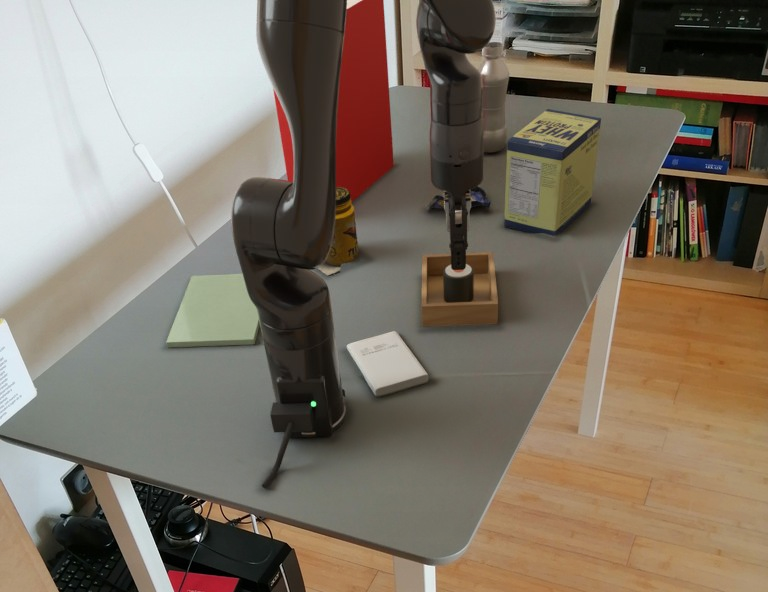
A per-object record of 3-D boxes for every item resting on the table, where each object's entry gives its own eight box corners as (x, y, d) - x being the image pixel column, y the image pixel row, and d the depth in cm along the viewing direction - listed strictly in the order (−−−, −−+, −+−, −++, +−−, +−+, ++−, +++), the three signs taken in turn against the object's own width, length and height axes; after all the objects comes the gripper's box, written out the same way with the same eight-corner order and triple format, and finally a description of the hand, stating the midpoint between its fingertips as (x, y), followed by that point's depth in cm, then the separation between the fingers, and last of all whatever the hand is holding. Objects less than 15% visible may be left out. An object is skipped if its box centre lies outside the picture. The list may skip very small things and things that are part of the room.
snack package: (436, 191, 160) (419, 217, 152) (441, 158, 155) (423, 184, 148) (495, 206, 158) (480, 233, 151) (502, 174, 154) (487, 200, 146)
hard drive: (375, 398, 116) (347, 352, 124) (428, 382, 118) (397, 338, 126) (374, 389, 115) (346, 343, 123) (428, 373, 117) (396, 329, 125)
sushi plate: (254, 344, 128) (253, 339, 127) (167, 347, 129) (165, 342, 128) (272, 277, 141) (271, 272, 141) (193, 280, 142) (191, 275, 142)
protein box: (592, 203, 152) (602, 116, 141) (555, 240, 143) (563, 151, 132) (541, 192, 156) (547, 107, 145) (502, 227, 148) (505, 140, 137)
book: (360, 160, 172) (344, -15, 149) (393, 166, 169) (382, -12, 146) (289, 218, 156) (258, 32, 133) (324, 225, 153) (299, 36, 130)
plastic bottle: (468, 148, 173) (469, 44, 158) (496, 141, 174) (499, 37, 160) (484, 159, 168) (486, 53, 154) (512, 151, 170) (517, 45, 156)
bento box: (497, 327, 126) (498, 303, 123) (422, 330, 127) (421, 306, 124) (492, 275, 137) (492, 251, 134) (423, 278, 138) (422, 254, 135)
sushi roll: (474, 305, 130) (474, 276, 126) (443, 306, 130) (443, 277, 126) (473, 288, 133) (473, 260, 129) (443, 290, 133) (443, 262, 130)
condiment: (368, 260, 143) (362, 193, 135) (327, 276, 140) (318, 209, 132) (346, 244, 148) (339, 179, 139) (306, 260, 145) (296, 194, 136)
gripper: (429, 129, 120) (432, 232, 131) (430, 173, 110) (433, 280, 122) (481, 126, 119) (479, 230, 131) (486, 169, 109) (484, 277, 121)
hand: (457, 254), depth 126 cm, fingers open, 8 cm apart
